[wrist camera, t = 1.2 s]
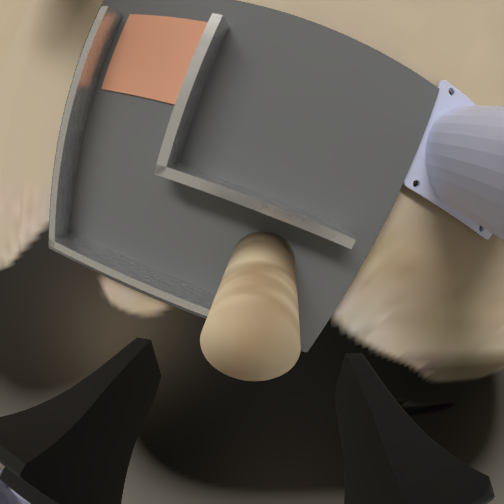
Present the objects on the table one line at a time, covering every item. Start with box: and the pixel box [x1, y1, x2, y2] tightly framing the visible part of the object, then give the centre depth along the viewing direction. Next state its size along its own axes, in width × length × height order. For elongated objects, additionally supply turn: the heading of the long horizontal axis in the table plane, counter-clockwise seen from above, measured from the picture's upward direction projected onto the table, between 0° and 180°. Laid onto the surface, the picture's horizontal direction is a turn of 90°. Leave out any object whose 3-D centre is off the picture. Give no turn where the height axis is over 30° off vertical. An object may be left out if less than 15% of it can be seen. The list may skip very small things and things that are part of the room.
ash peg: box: [200, 231, 301, 381], centre depth 14 cm, size 4×4×8 cm
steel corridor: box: [49, 6, 356, 316], centre depth 15 cm, size 19×17×2 cm
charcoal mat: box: [49, 0, 439, 353], centre depth 16 cm, size 23×21×1 cm
